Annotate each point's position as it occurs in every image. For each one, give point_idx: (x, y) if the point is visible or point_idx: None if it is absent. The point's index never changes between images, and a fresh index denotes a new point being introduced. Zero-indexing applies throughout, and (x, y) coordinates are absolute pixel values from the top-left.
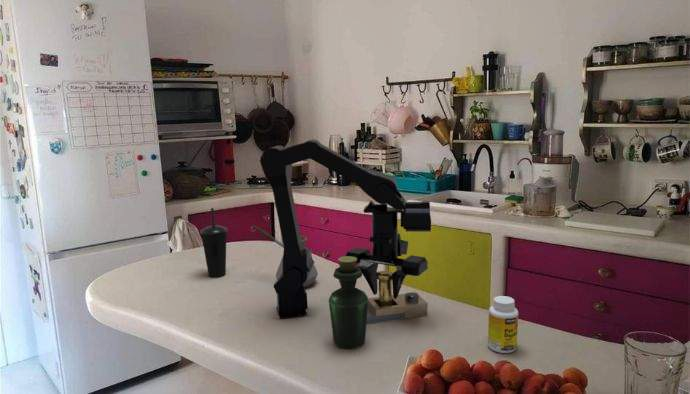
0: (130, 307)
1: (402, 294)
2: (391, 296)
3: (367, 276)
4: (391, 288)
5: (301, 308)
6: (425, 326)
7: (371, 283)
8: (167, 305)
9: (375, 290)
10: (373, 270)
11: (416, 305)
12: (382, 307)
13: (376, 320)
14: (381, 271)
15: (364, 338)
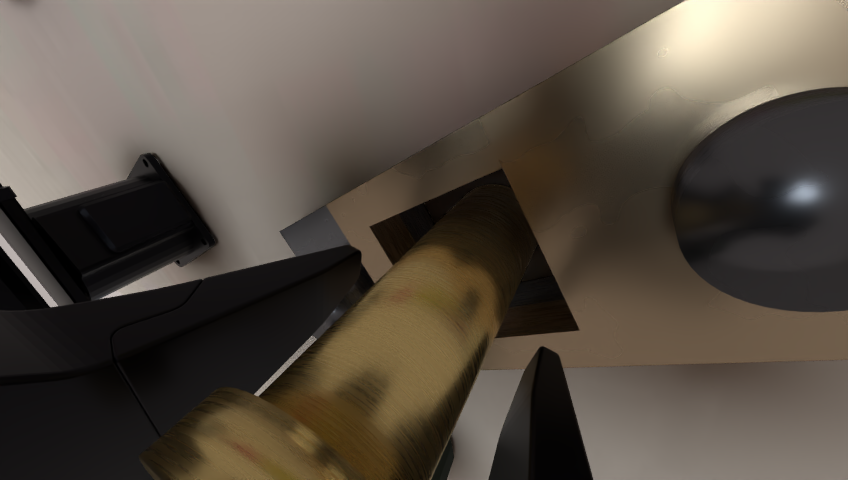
0: None
1: (648, 43)
2: (496, 332)
3: None
4: (465, 399)
5: (178, 237)
6: (814, 418)
7: (259, 385)
8: (18, 188)
9: (334, 296)
10: (84, 459)
11: (813, 351)
12: None
13: None
14: (158, 472)
15: (447, 476)
